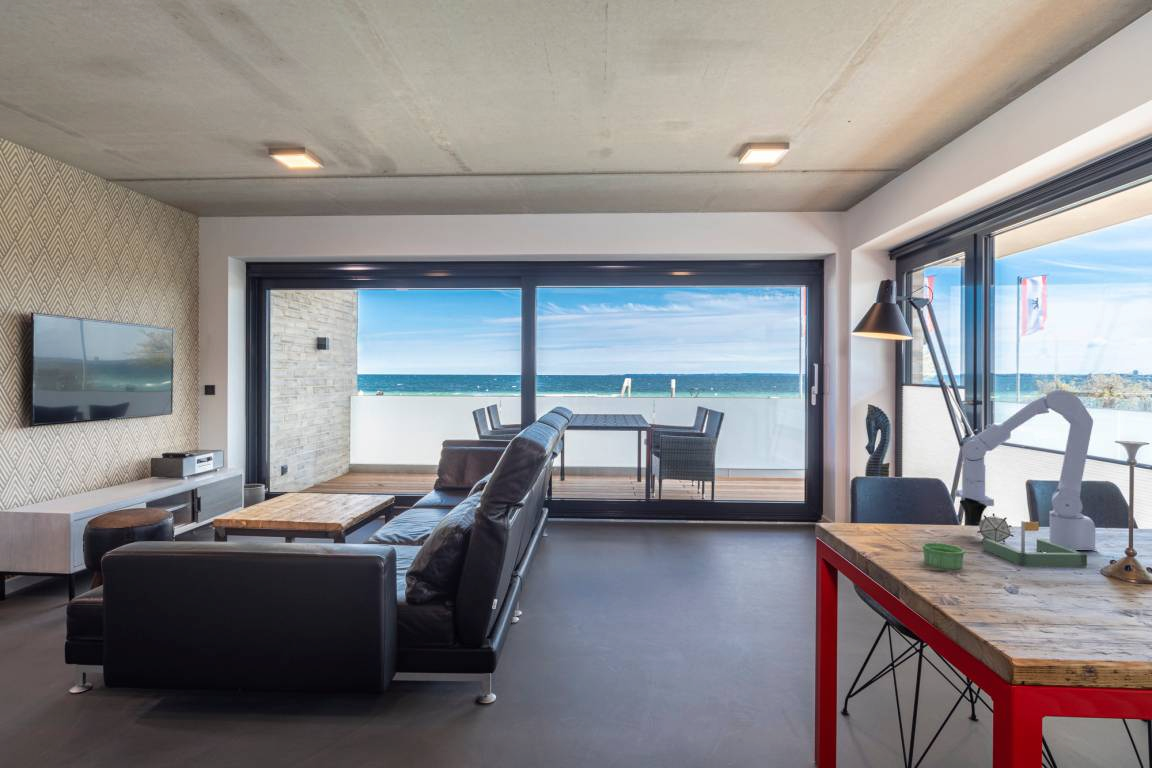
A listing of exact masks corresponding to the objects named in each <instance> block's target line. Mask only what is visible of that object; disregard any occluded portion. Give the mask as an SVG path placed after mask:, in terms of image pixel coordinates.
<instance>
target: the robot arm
mask: <svg viewBox="0 0 1152 768" xmlns="http://www.w3.org/2000/svg"><path fill="white" fill-rule="evenodd" d="M1049 409H1050V410H1052V411H1053V412H1055V413H1057V414H1059V415H1061V416H1062V418H1064V420H1065V421H1067V422H1068V424H1069V431H1068V436H1067V439H1066V440H1067V441H1066V445H1065V452H1064V456H1063V462H1062V466H1061V467H1062V468H1061V472H1060V477H1059V480H1058V483H1057V484H1058V485H1057V488H1056V490H1055V491H1054V492H1053V493H1052V494H1051V500H1050V501H1051V504H1052V507H1053V509H1052V510H1050V511H1049V540H1048V541H1049V542H1052V543H1054V544H1057V545H1060V546H1063V547H1066V548H1069V549H1072V550H1098V548H1096V525H1095V522H1094V521H1093V519H1092V518H1091V517H1089V516H1087V515H1084V514H1083V513H1081V512H1082V511H1083V503H1082V500H1081V491H1082V481H1083V477H1084V470H1085V465H1086V463H1087V462H1086V461H1087V456H1088V450H1089V445H1090V441H1091V434H1092V430H1093V425H1094V420H1093V417H1092V416H1091V415H1090V413H1089V411H1088V410H1087V408H1086V407H1085V405H1084V403H1083V402H1082V400H1081V399H1080V398H1079V397H1078V396H1076V395H1075V394H1074V393H1073V392H1071V391H1070V390H1067V389H1063V388H1061V389H1060V388H1059V389H1053V390H1051V391H1049V392H1048V393H1047V395H1042V396H1040V397H1038V398H1036V399H1035V400H1032V401H1031V402H1029V403H1028V404H1026V405H1025V406H1024V407H1022V408H1021V409H1020V410H1018V411H1016V413H1014V414H1013V415H1012V416H1010V417H1009V418H1007V419H1006V420H1005V421H1003V422H1001V423H1000V422H993V423H992V424H991V423H989V424H987V425H985V426H984V427H985V429H983V430H982V431H980V432H979V433H977V434H976V435H975V434H973V435H972V436H971V439H970V440H968V441H966V442H965V443H964V444H963V445H962V447H961V453H962V455H963V457H962V466H961V469H962V471H961V472H962V473H961V477H962V479H961V484H962V485H961V488H962V489H955V490H954V497H957V498H961V499H964V500H961V499H960V500H959V503H960V505H961V506H962V508H963V510H964V514H965V516H966V521H967V523H968V525H970V526H979V524H977V523H976V522H979V523H980V522H981V517H982V515H983V513H984V511H985V510H986V509H987V508H988V507H994V505H995V500H994V498H991V497H989V496H987V495H986V464H985V455H986V454H987V452H989V451H990V452H992V451H993V450H995V449H996V448H998V447H999V446H1001V445H1002V444H1004V443H1005V442H1006V441H1008V440H1009V439H1011V432H1013V430H1016V429H1017V428H1019V426H1021V425H1023V424H1024V423H1026V422H1027V421H1029V420H1031V419H1032V418H1034V417H1036V416H1037V415H1041V414H1042V415H1045V414H1049V413H1050V410H1049ZM1098 551H1099V550H1098Z"/></svg>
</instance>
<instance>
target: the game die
mask: <svg viewBox="0 0 1152 768" xmlns="http://www.w3.org/2000/svg"><path fill="white" fill-rule="evenodd" d="M983 517H984V518H983V519H982V520H980V521H979V522H976V523H977V524H978V527H979V530H977V533H978V534H981V535H982V537H983V538H982V540H983V539H990V540H993V541H996V542H998V543H1000V542H1002V543H1003V542H1005V543H1006V541H1005V540H1007V539H1008V538H1009V537H1015V535H1014V534H1011V529H1010V528H1012V525H1009V524H1008V522H1007V521H1006V520H1008V518H1007V517H1004V518H1001V517H999V516H996V515H995V513H992V515H991V516H987V515H983Z"/></svg>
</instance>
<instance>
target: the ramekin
mask: <svg viewBox="0 0 1152 768" xmlns="http://www.w3.org/2000/svg"><path fill="white" fill-rule="evenodd" d="M921 548H922V549H923V561H924V562H925V564H926V565H929V566H931V567H935V568H939V569H943V568H944V570H959V568H960V569H962V567H963V562H964V561H963V560H964V555H965V549H964V548H962V547H959V546H957V545H953V544H949V543H948V544H947V543H942V542H924V543H922V547H921Z"/></svg>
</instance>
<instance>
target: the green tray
mask: <svg viewBox="0 0 1152 768" xmlns="http://www.w3.org/2000/svg"><path fill="white" fill-rule="evenodd" d="M1020 522H1021V524H1020V525H1021V527H1020V528H1021V531H1020V533H1021V534H1020V535H1021V537H1020V541H1021V542H1020V543H1021V544H1020V550H1019V549H1016V548H1013V547H1011V546H1008V545H1006V544H1002V543H1000V542H996V541H993V540H990V539H983V538H982V545H983V546H982V549H984V550H983V551H985V550H986V552H987V551H988V553H990V552H991V553H990V554H992V553H993V555H995V556H997V555H998V556H997V557H999V556H1000V558H1001V559H1002V558H1003V559H1005V560H1006V559H1007V560H1006V561H1008V562H1009V561H1010V562H1011V561H1012V562H1011V563H1013V562H1014V564H1016V563H1017V564H1016V565H1018V564H1019V566H1020V567H1066V566H1087V567H1088V555H1087V554H1086V553H1084V552H1082V551H1075V550H1072V549H1069V548H1066V547H1063V546H1060V545H1057V544H1054V543H1052V542H1049V541H1050V540H1046V539H1039V538H1036V551H1037V550H1040V551H1043V552H1046V553H1043V552H1040V551H1039V552H1027V551H1026V550H1025V549H1026V544H1025V543H1026V532H1039V530H1040V529H1039V528H1040V525H1039V521H1024V520H1022V521H1020Z"/></svg>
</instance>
